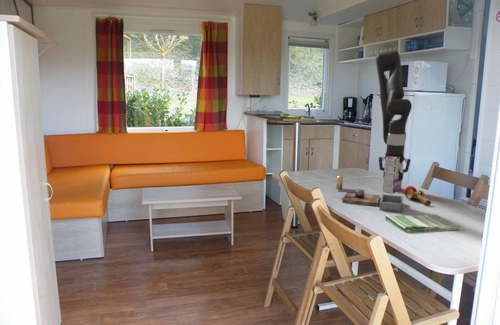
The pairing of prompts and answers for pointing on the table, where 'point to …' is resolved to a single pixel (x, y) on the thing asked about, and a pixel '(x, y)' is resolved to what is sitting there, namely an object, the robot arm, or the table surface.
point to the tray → (391, 203)
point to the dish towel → (421, 223)
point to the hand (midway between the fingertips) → (392, 180)
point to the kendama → (416, 195)
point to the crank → (339, 186)
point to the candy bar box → (392, 174)
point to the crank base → (362, 199)
